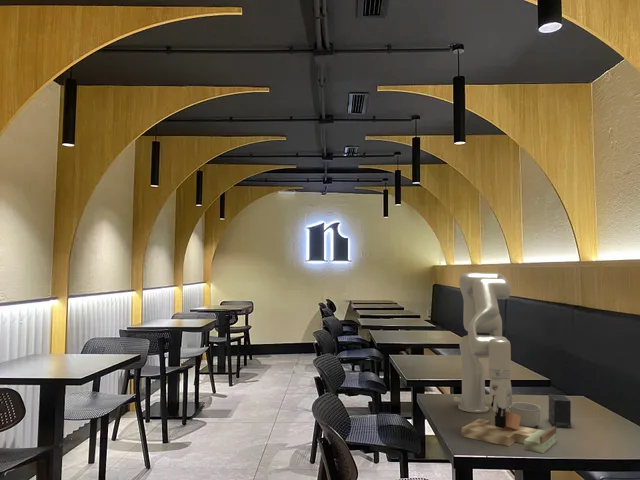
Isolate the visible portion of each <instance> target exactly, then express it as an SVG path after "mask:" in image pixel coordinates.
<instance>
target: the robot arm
mask: <svg viewBox="0 0 640 480" xmlns="http://www.w3.org/2000/svg"><path fill="white" fill-rule="evenodd" d="M458 281H459V283H458V285H459V289H460V292H461V295H462V299H463V319H462V321H463V328H464V330H465V331H466V332H467V335H464V336H462V337H461V338H460V339H459V351H460V356H461V396H459V397H458V396H454V397H453V402H454V403H458V406H457V407H458V409H459V410H460V411H463V412H468V413H476V414H479V413H481V414H482V413H487V412H489V410H490V408H492V412H493V413H494V426H496V427H499V428H504V427H506V416H504V415H506V412H507V409H508V408H507V407H509V406H510V407H511V405H512V403H513V392H512V382H511V380H512V364H511V363H512V360H511V359H512V358H511V357H512V354H511V350H512V349H511V347H512V346H511V342H510V340H508V339H507V337H505V336H503V319H502V316H501V314H500V309H499V303H498V300H507V299H508V298H510V296H511V291H512V290H511V288H512V287H511V285H510V282H509V280H508V278H507V277H506V276H504V275H503V274H502V273H500V272H481V271H477V272H476V271H475V272H474V271H470V272H464V273H462V274H460V276H459V280H458ZM477 333H478V334H477ZM479 333H482V334H483V333H487V334H489V335H484V334H483V335H481V334H479ZM482 358H483V359H486V358H487V359H488V378H489V379H490V380H489V381H490V382H489V406H490V407H489V406H487V405H486V403H485V402H486V383H485V382H486V381H485V380H486V379H485V378H486V374H485V373H486V370H485V366H484V364H483V363H482V362H481V361H480V360H479V359H482Z"/></svg>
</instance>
